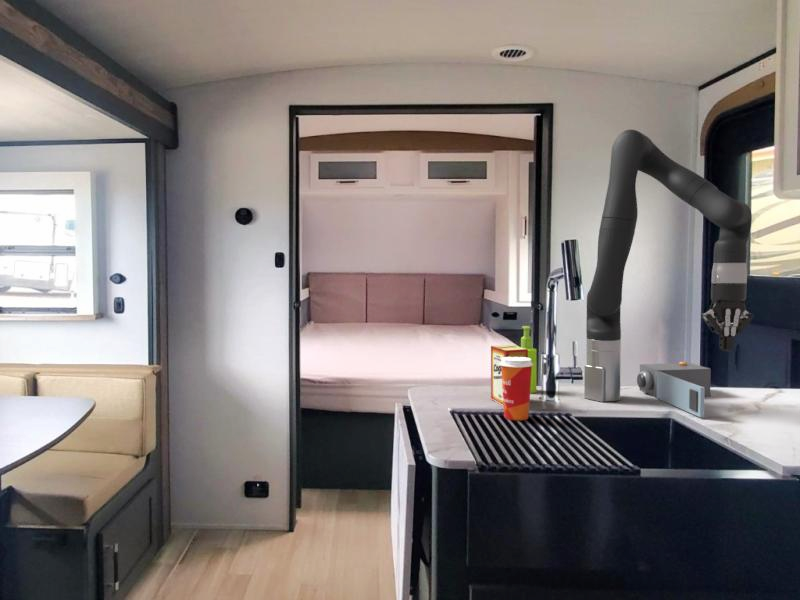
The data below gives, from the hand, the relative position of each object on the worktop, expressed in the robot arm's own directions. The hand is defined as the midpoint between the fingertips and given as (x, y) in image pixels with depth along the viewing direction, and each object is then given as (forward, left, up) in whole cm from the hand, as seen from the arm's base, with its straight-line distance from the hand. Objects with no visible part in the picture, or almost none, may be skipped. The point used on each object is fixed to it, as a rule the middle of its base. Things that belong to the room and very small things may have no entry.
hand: (725, 350), depth 136 cm
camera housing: (+14, +21, -17) cm, 30 cm away
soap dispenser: (-17, +50, -17) cm, 55 cm away
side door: (-1, +11, -16) cm, 20 cm away
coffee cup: (-42, +31, -17) cm, 55 cm away
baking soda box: (-32, +43, -17) cm, 56 cm away
